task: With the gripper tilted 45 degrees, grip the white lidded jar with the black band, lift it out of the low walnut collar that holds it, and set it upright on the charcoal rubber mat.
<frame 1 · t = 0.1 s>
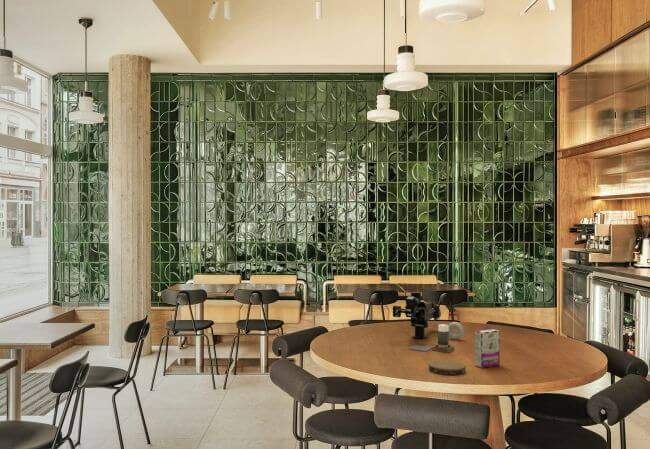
hand: (403, 314, 307), 17 cm above the table, tool horizontal, fingers open, 9 cm apart
brown round disc: (446, 371, 256), on the table
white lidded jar: (443, 337, 298), in the walnut collar
walnut collar: (443, 349, 298), on the table
charcoal mat: (420, 348, 300), on the table
candy bar box: (486, 366, 266), on the table
donut: (454, 339, 325), on the table
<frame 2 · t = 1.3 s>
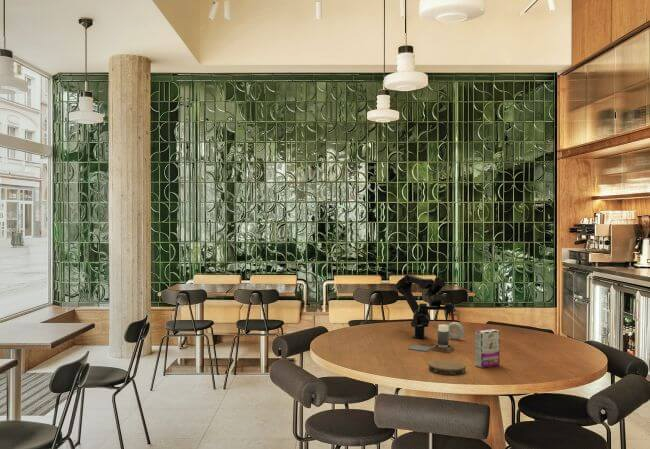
hand: (438, 320, 306), 14 cm above the table, tool tilted 45°, fingers open, 9 cm apart
nothing on the table moved.
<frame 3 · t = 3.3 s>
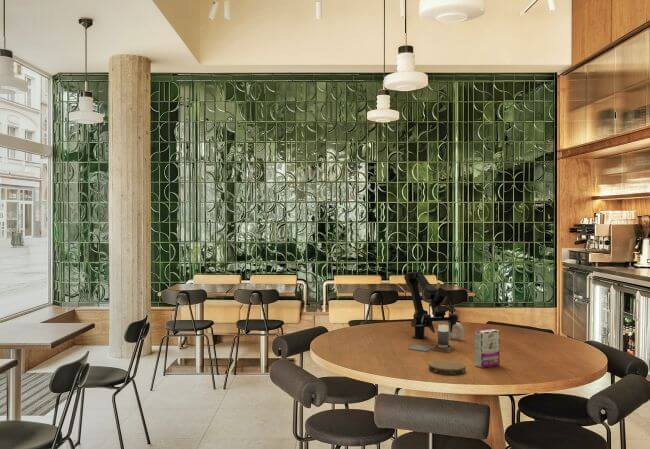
hand: (442, 332, 299), 9 cm above the table, tool tilted 45°, fingers open, 9 cm apart
nothing on the table moved.
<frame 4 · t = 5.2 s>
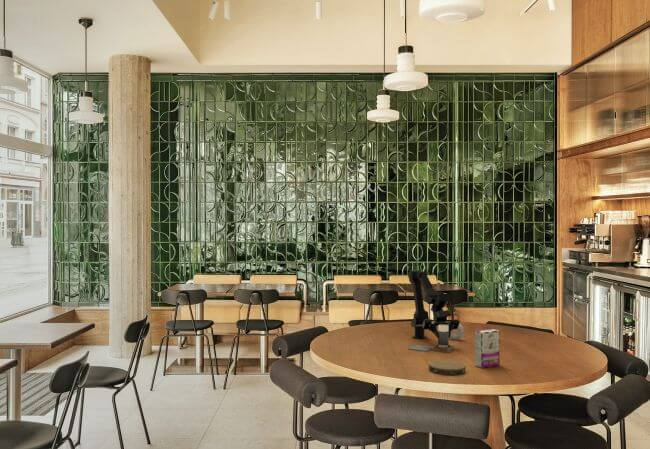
hand: (444, 337, 296), 7 cm above the table, tool tilted 45°, fingers closed on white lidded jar, 6 cm apart
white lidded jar: (443, 337, 298), in the walnut collar, touching gripper
everything else where it was.
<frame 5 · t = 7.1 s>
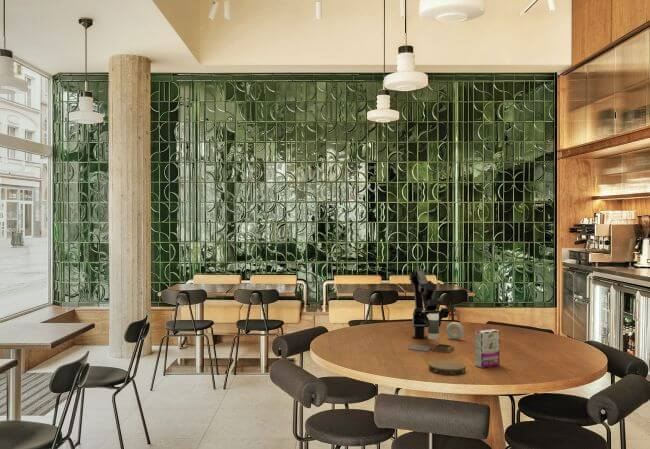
hand: (434, 326, 297), 12 cm above the table, tool tilted 45°, fingers closed on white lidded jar, 6 cm apart
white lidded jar: (433, 326, 299), point 12 cm above the table, touching gripper
everything else where it was.
when the fingers open (8 cm above the table, at t = 9.1 s): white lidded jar stays where it is, resting on charcoal mat.
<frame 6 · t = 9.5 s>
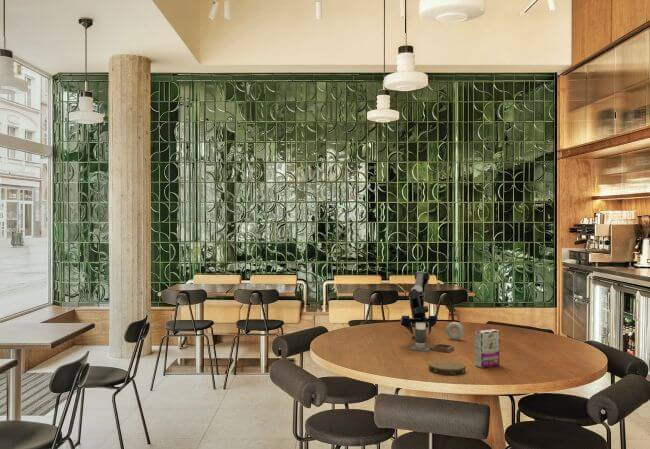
hand: (421, 333, 298), 8 cm above the table, tool tilted 45°, fingers open, 9 cm apart
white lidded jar: (420, 335, 300), on the charcoal mat
everything else where it was.
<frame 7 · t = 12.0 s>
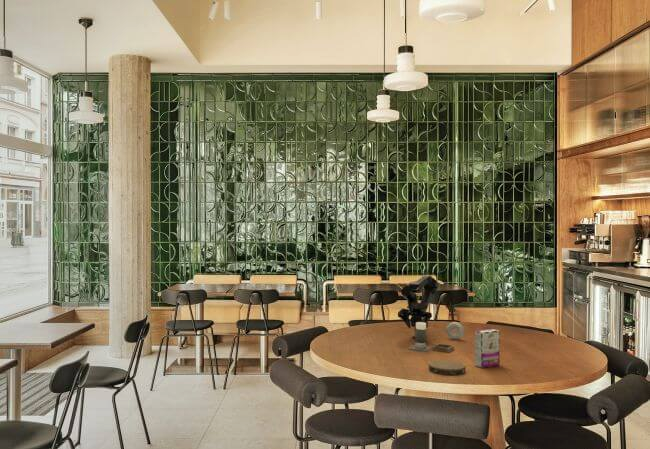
hand: (417, 328, 309), 9 cm above the table, tool tilted 35°, fingers open, 9 cm apart
nothing on the table moved.
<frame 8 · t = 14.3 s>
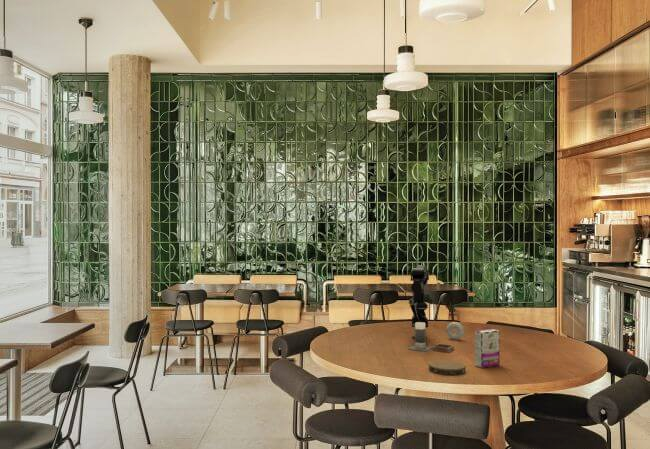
hand: (417, 319, 315), 13 cm above the table, tool pointing down, fingers open, 9 cm apart
nothing on the table moved.
at the end: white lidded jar inside the target area on the charcoal mat (0.1 cm from its centre), point 7.1 cm above the charcoal mat's base; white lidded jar tilted 1°; the gripper is holding nothing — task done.
